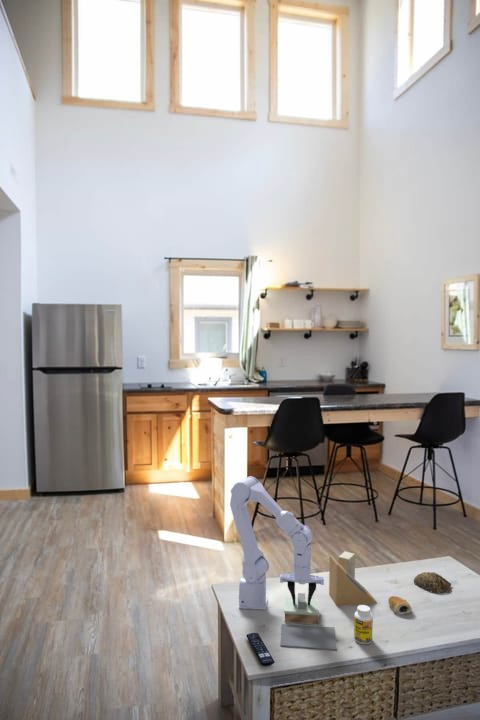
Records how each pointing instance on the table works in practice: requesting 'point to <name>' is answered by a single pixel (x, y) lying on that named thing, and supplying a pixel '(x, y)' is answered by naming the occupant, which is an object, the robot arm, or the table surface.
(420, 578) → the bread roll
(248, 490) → the robot arm
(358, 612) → the supplement bottle
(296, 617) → the walnut box
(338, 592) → the sandwich container
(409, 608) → the pastry
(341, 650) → the table surface
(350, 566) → the skincare box
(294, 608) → the lid
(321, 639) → the slate mat
